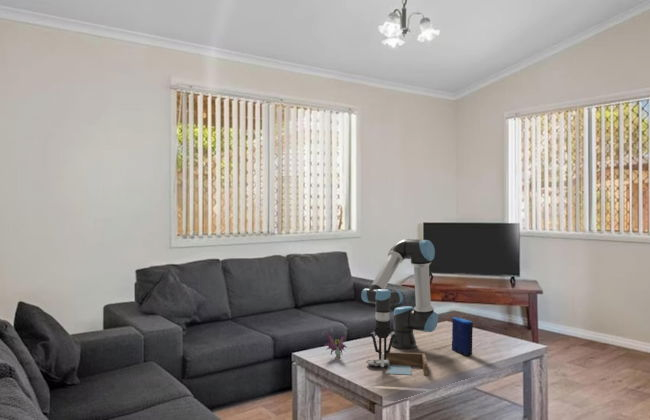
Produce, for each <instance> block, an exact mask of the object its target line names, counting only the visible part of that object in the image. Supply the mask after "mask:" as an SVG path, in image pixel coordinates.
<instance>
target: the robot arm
mask: <svg viewBox="0 0 650 420" xmlns="http://www.w3.org/2000/svg"><path fill="white" fill-rule="evenodd" d="M435 250H436V249H435V246H434V244H433V243H432V241H430V240H429V239H413V238H412V239H409V238H408V239H407V238H406V239H405V238H404V239H402V240H400V241H399V242H397V243H396V244H395V245H393V246H392V247H391V248H390V249H389V251H388V253H387V258H386V260H385V262H384V263H383V264H382V266H381V268H380V270H379V272H378V273H377V274H376V276H375V278H374V280H373V281H372V283H371V285H370V286H369V288H364V289H362V290H361V295H360V296H361V300H362V301H363V303H369V304H375V327H374V331H372V332H370V334H369V335H370V337H371V339H372V342H373V347H374V351H375V353H378V360H381V366H380V367H381V368H384V367H385V366H384V360H386V354H387V353H389V352H391V350H392V349H391V348H392V347H393V348H397V349H414V348H416V347H417V341H416V337H415V333H414V331H420V332H424V333H432V332H434V331H436V328H437V326H438V322H439V314H438V313H437V312H436V311H434V310H435V308H434V307H433V306H432V302H431V301H432V299H431V283H430V282H431V281H430V265H431V264H432V261H433V260H434V259H435V255H436V251H435ZM404 260H410V264H411V265H413V274H414V291H415V293H414V294H415V297H414V298H415V306H414V307H413V306H410V305H408V306H407V305H406V306H405V305H404V306H398V305H400V304H401V303H403V300H404V296H403V293H402V292H401V291H399V290H392V291H391V290H390V289H387V285H388V284H389V283H390V281H391V279H392V277H393V275H394V274H395V272H396V271H397V269H398V267H399V265H400V264H402V263H403V262H404ZM395 306H398V307H395ZM391 307H395V308H394V310H393V315H392V316H393V332H392V330H391ZM389 336H390V339H389V342H388V347H387V338H388V337H389ZM376 337H377V338H378V344H377V341H376V340H377V339H376ZM382 339H383V352H384V353H381V352H382Z"/></svg>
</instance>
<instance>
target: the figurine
mask: <svg viewBox="0 0 650 420" xmlns="http://www.w3.org/2000/svg"><path fill="white" fill-rule="evenodd" d="M324 333H325V335H326V337H327V340H328V341H329V342H326V343H325V344H323V346H327V348H326V349H325V351H326V350H330V355H333V352H334V354H335V355H336V356H335V357H334V359H335V360H338V359H339V358H340V356H343V354H344V353H343V351H344V352H346V351H345V350H346V349H347V348H348V346H346V344H344V341H345V339H346V336H347V335H348V333H345V334H344V335H343V336H342V337H341V338H340V339H338V338H336V339H335V340H334V339H333V336H331V335H330V334H328V333H327V332H326V331H324ZM344 348H346V349H344Z"/></svg>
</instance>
